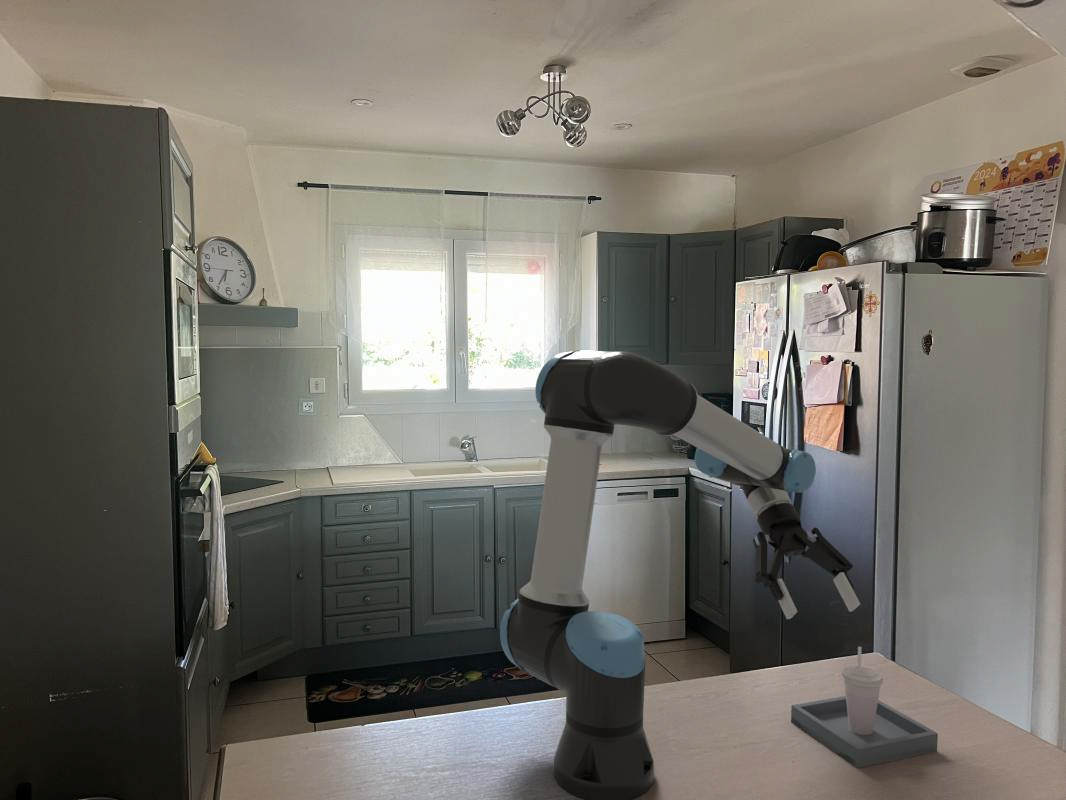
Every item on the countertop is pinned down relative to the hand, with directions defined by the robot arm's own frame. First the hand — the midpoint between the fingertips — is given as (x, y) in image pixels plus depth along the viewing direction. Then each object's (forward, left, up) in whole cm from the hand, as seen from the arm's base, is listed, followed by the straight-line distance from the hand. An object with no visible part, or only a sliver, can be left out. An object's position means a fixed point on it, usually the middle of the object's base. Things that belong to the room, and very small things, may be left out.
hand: (824, 611), depth 141 cm
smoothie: (0, -10, -17) cm, 20 cm away
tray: (0, -10, -18) cm, 21 cm away
